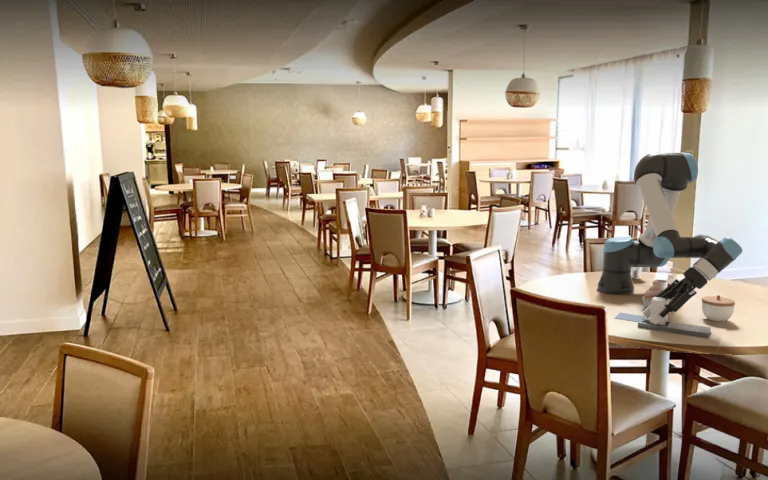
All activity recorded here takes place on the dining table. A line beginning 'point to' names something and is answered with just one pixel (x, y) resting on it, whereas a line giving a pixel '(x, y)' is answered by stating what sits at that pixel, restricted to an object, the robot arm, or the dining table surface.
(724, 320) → the lidded jar
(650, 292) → the cupcake
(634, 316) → the mat
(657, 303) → the nut block
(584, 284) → the dining table surface
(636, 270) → the cup with straw
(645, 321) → the rail
